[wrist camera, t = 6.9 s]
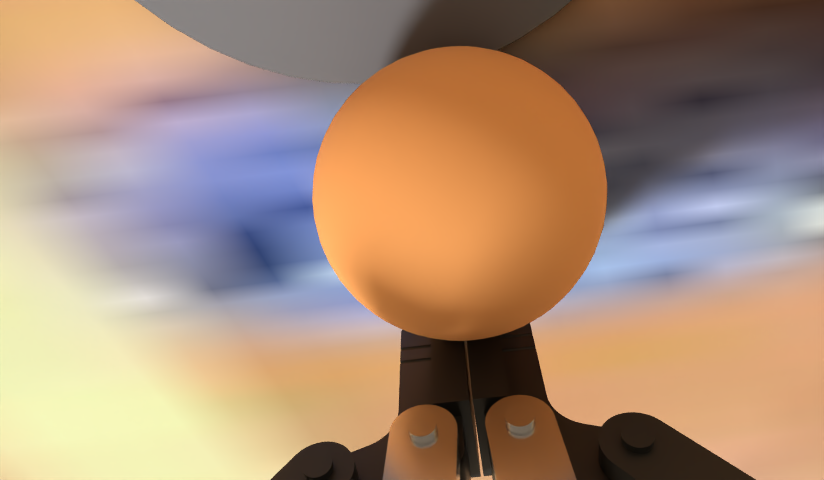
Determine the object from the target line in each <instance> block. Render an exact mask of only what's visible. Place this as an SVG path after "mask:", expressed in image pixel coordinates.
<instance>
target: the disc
mask: <svg viewBox="0 0 824 480" xmlns="http://www.w3.org/2000/svg"><path fill="white" fill-rule="evenodd" d="M135 1H137V2H138V3H139V4H141V5H142V6H143V7H145V8H146V9H148V10H149V11H150V12H152V13H153V14H155V15H156V16H157V17H159V18H160V19H162V20H163V21H164V22H166V23H167V24H169V25H170V26H171V27H173V28H175V29H177V30H178V31H180V32H182V33H184V34H186V35H187V36H189V37H191V38H193V39H194V40H196V41H198V42H200V43H201V44H203V45H205V46H207V47H209V48H210V49H213V50H215V51H218V52H220V53H222V54H225V55H227V56H229V57H232V58H234V59H236V60H239V61H241V62H244V63H246V64H248V65H251V66H255V67H258V68H262V69H265V70H269V71H272V72H276V73H279V74H282V75H286V76H290V77H296V78H303V79H309V80H315V81H321V82H328V83H357V84H362V83H364V82H365V81H366V80H367V79H369V78H370V77H371V76H373V75H374V74H375V73H377V72H378V71H379V70H381V69H382V68H384V67H386V66H388V65H390V64H392V63H393V62H395V61H397V60H399V59H401V58H404V57H406V56H409V55H412V54H415V53H419V52H422V51H425V50H429V49H434V48H440V47H450V46H472V47H480V48H485V49H491V50H498V49H500V48H502V47H504V46H506V45H508V44H510V43H512V42H514V41H516V40H518V39H519V38H521V37H522V36H524V35H525V34H527V33H528V32H530V31H531V30H533V29H534V28H536V27H537V26H539V25H540V24H542V23H543V22H545V21H546V20H547V19H549V18H550V17H552V16H553V15H555V14H556V13H557V12H558V11H560V10H561V9H562V8H563V7H564V6H565V5H566V4H568V3H569V2H570V1H571V0H135Z"/></svg>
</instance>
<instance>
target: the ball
mask: <svg viewBox="0 0 824 480" xmlns="http://www.w3.org/2000/svg"><path fill="white" fill-rule="evenodd" d="M312 200H313V210H314V218H315V223H316V227H317V231H318V235H319V239H320V242H321V245H322V247H323V250H324V252H325V254H326V257H327V259H328V261H329V263H330V265H331V266H332V268H333V270H334V271H335V273H336V274H337V276H338V278H339V279H340V281H341V282H342V283H343V284H344V285H345V287H346V288H347V289H348V290H349V291H350V292H351V294H352V295H353V296H354V297H355V298H356V299H357V300H358V301H359V302H360V303H361V304H363V305H364V306H365V307H366V308H367V309H369V310H370V311H371V312H373V313H374V314H375V315H376V316H378V317H380V318H381V319H383V320H384V321H386V322H388V323H390V324H392V325H394V326H396V327H398V328H400V329H403V330H405V331H407V332H410V333H413V334H416V335H420V336H424V337H429V338H434V339H441V340H450V341H469V340H478V339H485V338H489V337H494V336H498V335H501V334H505V333H508V332H511V331H513V330H516V329H518V328H520V327H523V326H525V325H526V324H528V323H530V322H532V321H533V320H535V319H537V318H538V317H540V316H542V315H543V314H545V313H546V312H547V311H549V310H550V309H551V308H553V307H554V306H555V305H556V304H557V303H558V302H559V301H560V300H561V299H562V298H564V296H565V295H566V294H567V293H568V292H569V291H570V290H571V289H572V288H573V287H574V285H575V284H576V283H577V281H578V280H579V279H580V277H581V276H582V274H583V273H584V271H585V270H586V268H587V266H588V264H589V262H590V261H591V259H592V257H593V255H594V253H595V250H596V247H597V245H598V242H599V239H600V236H601V233H602V230H603V226H604V220H605V214H606V205H607V179H606V172H605V165H604V161H603V157H602V153H601V150H600V147H599V143H598V140H597V138H596V136H595V133H594V131H593V129H592V127H591V125H590V123H589V121H588V119H587V118H586V116H585V115H584V113H583V112H582V110H581V109H580V107H579V106H578V104H577V103H576V101H575V100H574V99H573V98H572V97H571V96H570V95H569V94H568V93H567V92H566V91H565V89H564V88H563V87H562V86H561V85H560V84H558V83H557V82H556V81H555V80H553V79H552V78H551V77H550V76H548V75H547V74H546V73H545V72H543V71H542V70H540V69H538V68H536V67H535V66H533V65H531V64H529V63H528V62H526V61H524V60H522V59H520V58H517V57H514V56H512V55H509V54H506V53H503V52H500V51H496V50H491V49H485V48H480V47H472V46H450V47H440V48H434V49H429V50H425V51H422V52H419V53H415V54H412V55H409V56H406V57H404V58H401V59H399V60H397V61H395V62H393V63H392V64H390V65H388V66H386V67H384V68H382V69H381V70H379V71H378V72H377V73H375V74H374V75H373V76H371V77H370V78H369V79H367V80H366V81H365V82H364V83H362V84H361V85H360V86H359V87H358V88H357V89H356V90H355V91H354V92H353V93H352V94H351V95H350V96H349V97H348V99H347V100H346V101H345V103H344V104H343V105H342V107H341V108H340V110H339V111H338V112H337V114H336V115H335V117H334V118H333V120H332V122H331V124H330V126H329V128H328V130H327V132H326V134H325V136H324V139H323V141H322V144H321V147H320V150H319V153H318V156H317V161H316V166H315V171H314V179H313V198H312Z"/></svg>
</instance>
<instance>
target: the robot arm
mask: <svg viewBox="0 0 824 480" xmlns="http://www.w3.org/2000/svg"><path fill="white" fill-rule="evenodd" d="M400 362H401V364H400V387H399V413H398V417H397V418H396V419H395V420H394V422H393V423H392V425H391V428H390V432H389V433H388V434H387V435H386V436H384V437H383V438H382V439H380V440H379V441H377V442H376V443H373V444H371V445H369V446H366V447H364V448H361V449H359V450H356V451H354V452H350V451H349V450H348V449H347V448H346V447H345V446H343V445H341V444H339V443H335V442H320V443H316V444H313V445H310V446H308V447H306V448H305V449H303V450H301V451H300V452H299V453H298V454H296V455H295V456H294V457H293V458H292V459H291V460H290V461H289V462H288V463H287V464H286V465H285V466H284V467H283V468H282V469H281V470H280V471H279V472H278V473H277V474H276V475H275V476H274V477H273V478H272V479H271V480H471V477H481V474H480V464H479V454H478V444H477V434H476V427H477V433H478V440H479V447H480V454H481V460H482V467H483V474H484V476H489V475H492V478H493V480H756V479H754V478H752V477H751V476H749V475H748V474H746V473H744V472H743V471H741V470H739V469H738V468H736V467H735V466H733V465H731V464H730V463H728V462H727V461H725V460H723V459H722V458H720V457H718V456H717V455H715V454H714V453H712V452H710V451H709V450H707V449H706V448H704V447H702V446H701V445H699V444H697V443H696V442H694V441H693V440H691V439H689V438H688V437H686V436H685V435H683V434H681V433H680V432H678V431H676V430H675V429H673V428H672V427H670V426H668V425H667V424H665V423H664V422H662V421H660V420H659V419H657V418H655V417H652V416H650V415H647V414H642V413H635V412H631V413H622V414H618V415H615V416H613V417H611V418H610V419H608V420H607V421H606V422H605V423H604V424H603V426H602V427H600V426H594V425H588V424H582V423H578V422H575V421H572V420H569V419H567V418H565V417H564V416H562V415H561V414H559V413H558V412H557V411H556V410H555V409H554V408H553V407H552V406H551V404H550V402H549V401H548V398H547V395H546V391H545V386H544V382H543V378H542V373H541V369H540V365H539V360H538V356H537V352H536V349H535V343H534V339H533V336H532V330H531V326H530V323H528V324H526V325H525V326H523V327H520V328H518V329H516V330H513V331H511V332H508V333H505V334H501V335H498V336H494V337H489V338H485V339H478V340H469V341H450V340H441V339H434V338H429V337H424V336H420V335H416V334H413V333H410V332H407V331H405V330H402V331H401V358H400ZM475 420H476V424H475Z"/></svg>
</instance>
